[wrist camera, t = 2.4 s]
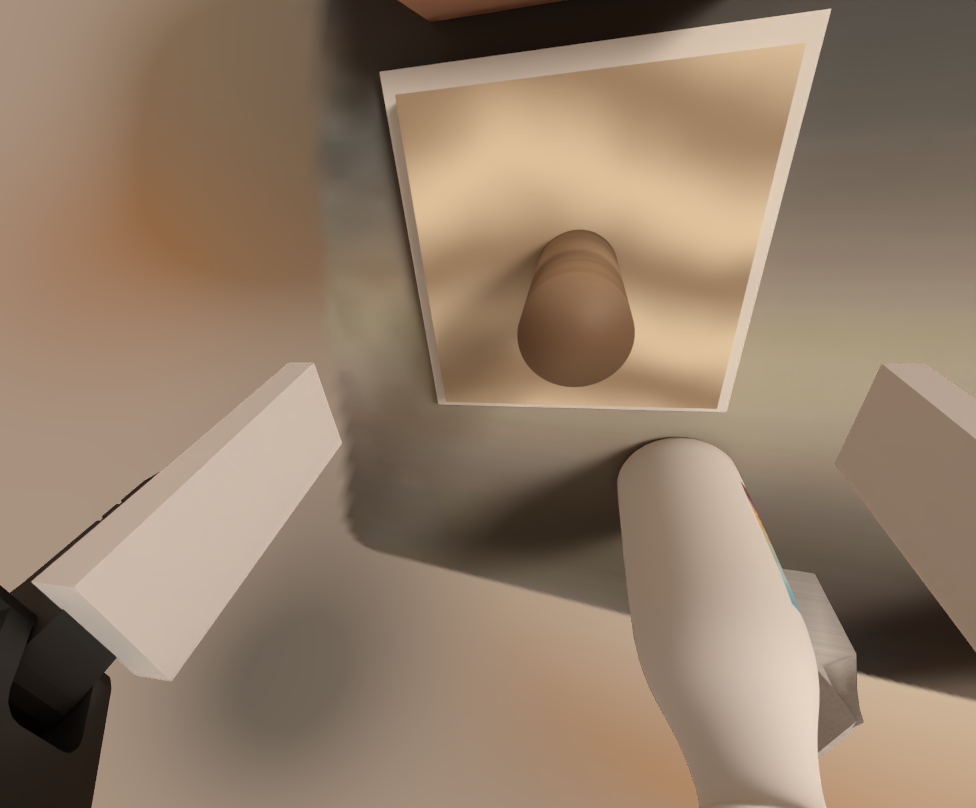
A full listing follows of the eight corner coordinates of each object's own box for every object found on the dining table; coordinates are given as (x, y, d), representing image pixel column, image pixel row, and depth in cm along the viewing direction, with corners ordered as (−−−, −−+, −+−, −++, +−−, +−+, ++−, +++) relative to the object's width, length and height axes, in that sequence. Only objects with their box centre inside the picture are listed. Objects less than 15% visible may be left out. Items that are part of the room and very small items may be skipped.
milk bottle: (594, 488, 31) (610, 890, 15) (662, 414, 27) (788, 868, 11) (683, 530, 32) (792, 959, 16) (763, 466, 28) (1029, 966, 11)
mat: (723, 406, 26) (726, 412, 25) (440, 399, 29) (438, 404, 29) (823, 12, 16) (831, 8, 16) (384, 73, 20) (379, 71, 19)
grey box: (732, 614, 36) (776, 757, 28) (762, 565, 33) (823, 714, 24) (778, 622, 36) (837, 770, 28) (814, 573, 32) (895, 728, 24)
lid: (711, 397, 25) (767, 515, 17) (450, 392, 28) (402, 490, 21) (792, 47, 16) (973, -18, 9) (404, 96, 20) (293, 78, 12)
